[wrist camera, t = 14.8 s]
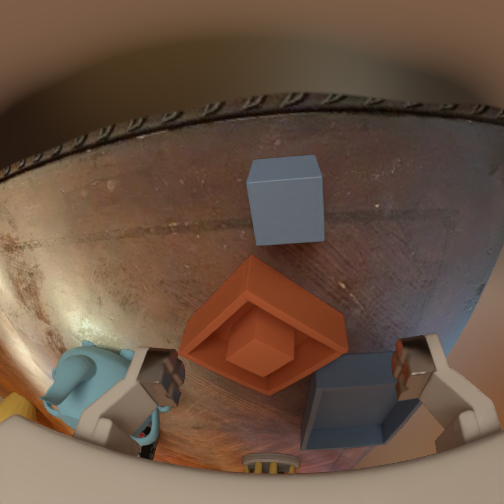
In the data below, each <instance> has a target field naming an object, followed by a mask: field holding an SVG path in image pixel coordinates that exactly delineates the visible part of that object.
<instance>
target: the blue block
mask: <svg viewBox="0 0 504 504" xmlns="http://www.w3.org/2000/svg"><path fill="white" fill-rule="evenodd" d="M246 186H247V192H248V198H249V204H250V210H251V216H252V222H253V228H254V234H255V240H256V245H257V246H263V245H277V244H292V243H306V242H321V241H325V229H324V199H323V178H322V174H321V171H320V168H319V165H318V162H317V159H316V156H315V155H305V156H292V157H280V158H269V159H259V160H253V162H252V165H251V168H250V172H249V175H248V179H247V182H246Z"/></svg>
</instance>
